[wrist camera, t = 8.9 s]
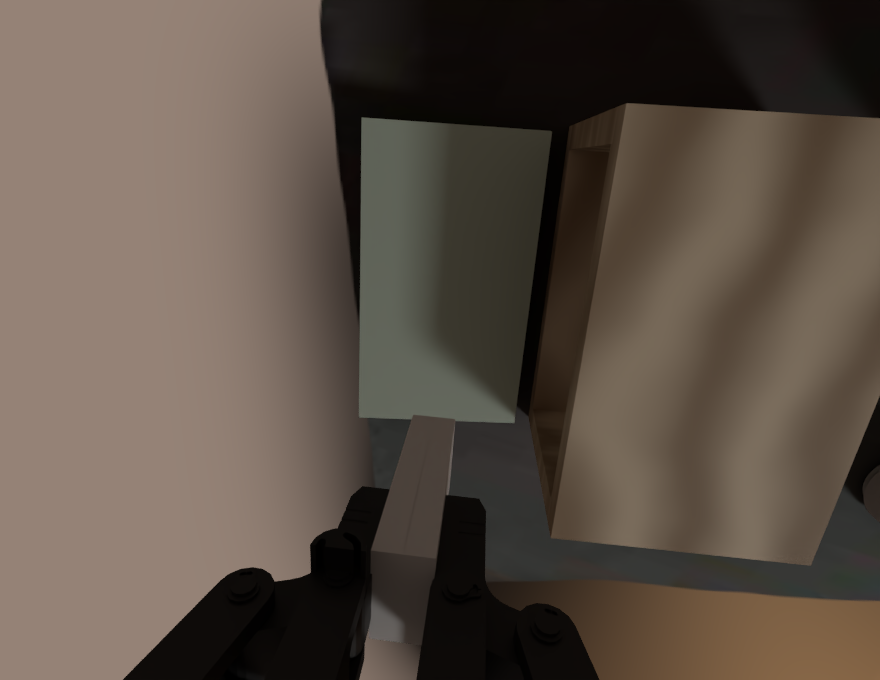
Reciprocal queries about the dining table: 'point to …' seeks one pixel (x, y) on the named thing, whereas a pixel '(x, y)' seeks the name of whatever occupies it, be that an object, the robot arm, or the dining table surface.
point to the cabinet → (709, 329)
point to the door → (446, 266)
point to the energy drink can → (872, 493)
